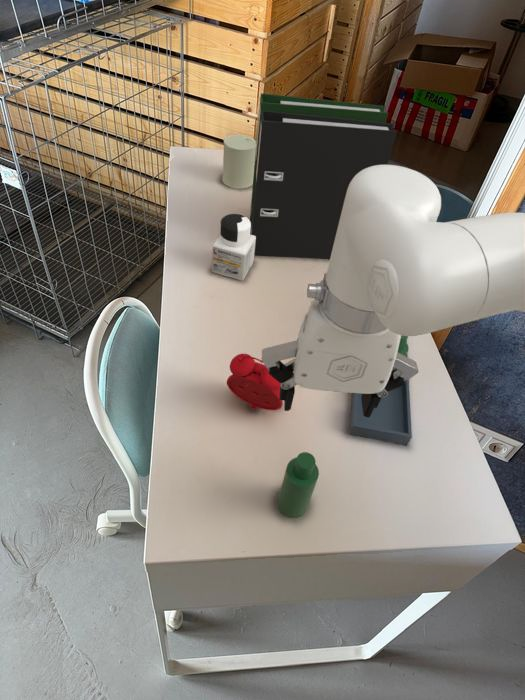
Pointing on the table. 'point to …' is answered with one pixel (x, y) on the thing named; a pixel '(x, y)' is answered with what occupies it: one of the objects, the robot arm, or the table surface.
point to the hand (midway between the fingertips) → (326, 404)
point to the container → (234, 247)
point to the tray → (384, 417)
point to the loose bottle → (298, 485)
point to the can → (238, 161)
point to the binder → (310, 170)
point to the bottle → (402, 347)
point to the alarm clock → (254, 383)
